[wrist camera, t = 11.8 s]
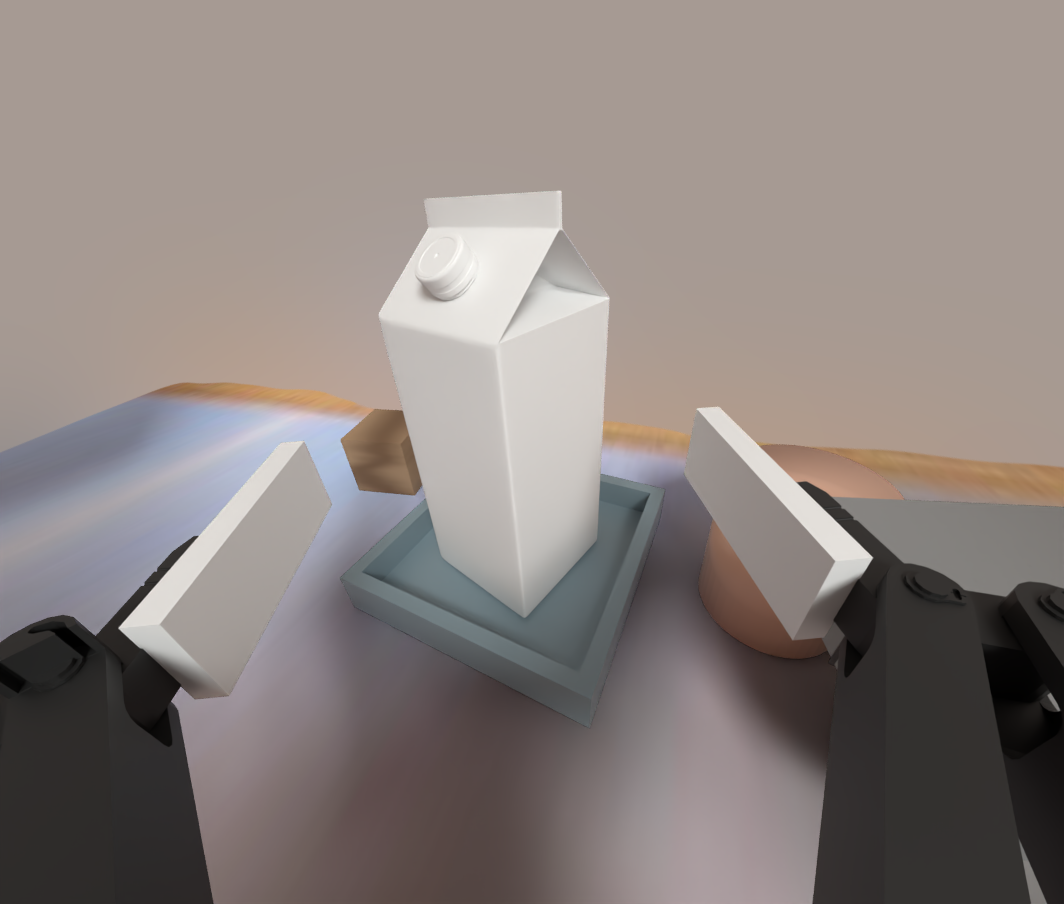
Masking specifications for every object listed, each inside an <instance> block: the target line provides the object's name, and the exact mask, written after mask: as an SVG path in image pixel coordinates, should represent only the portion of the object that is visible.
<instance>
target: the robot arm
mask: <svg viewBox="0 0 1064 904" xmlns="http://www.w3.org/2000/svg"><path fill="white" fill-rule="evenodd" d="M684 475H685V477H686V478H687V480H688V481H689V483H690V484H691V486H692V487H693V489H694V490H695V492H696V493H697V495H698V496H699V498H700V499H701V501H702V503H703V504H704V506H705V507H706V509H707V510H708V512H709V513H710V515H711V516H712V518H713V519H714V521H715V522H716V524H717V525H718V527H719V529H720V530H721V532H722V533H723V535H724V536H725V538H726V539H727V541H728V542H729V544H730V545H731V547H732V548H733V550H734V551H735V553H736V555H737V556H738V558H739V559H740V561H741V562H742V564H743V565H744V567H745V568H746V570H747V571H748V573H749V574H750V576H751V577H752V579H753V581H754V582H755V584H756V585H757V587H758V588H759V590H760V591H761V593H762V594H763V596H764V597H765V599H766V600H767V602H768V603H769V605H770V607H771V608H772V610H773V611H774V613H775V614H776V616H777V617H778V619H779V620H780V622H781V623H782V625H783V626H784V628H785V629H786V631H787V633H788V634H789V636H790V637H791V639H792V640H803V639H813V638H823V637H825V635H826V634H827V632H828V631H829V629H830V627H831V626H832V624H833V622H835V623H836V625H837V626H838V627H839V629H840V630H841V631H842V632H843V634H844V635H845V636H844V637H843V639H842V640H841V642H840V644H839V645H838V647H837V648H836V650H835V651H834V653H833V654H832V656H831V658H830V660H829V662H828V663H829V664H831V665H833V666H834V664H835V663H836V661H837V660H838V667H837V677H836V686H835V696H834V705H833V715H832V724H831V734H830V743H829V753H828V762H827V772H826V781H825V791H824V800H823V810H822V819H821V829H820V838H819V848H818V857H817V867H816V876H815V886H814V895H813V904H1031V900H1030V895H1029V890H1028V885H1027V879H1026V874H1025V869H1024V864H1023V858H1022V853H1021V848H1020V843H1019V840H1020V842H1021V845H1022V847H1023V849H1024V852H1025V854H1026V856H1027V859H1028V861H1029V863H1030V865H1031V868H1032V870H1033V872H1034V875H1035V877H1036V879H1037V882H1038V884H1039V886H1040V889H1041V891H1042V893H1043V895H1044V898H1045V900H1046V902H1047V904H1064V588H1060V587H1057V586H1053V585H1050V584H1047V583H1040V582H1031V581H1028V582H1024V583H1020V584H1018V585H1017V586H1016V587H1015V588H1014V589H1013V590H1012V591H1011V592H1010V593H1009V594H1008V595H1007V596H1006V597H1005V596H999V595H993V594H986V593H980V592H974V591H968V590H964V589H963V588H962V587H961V586H960V585H959V584H958V583H956V582H955V581H953V580H951V579H950V578H948V577H947V576H945V575H944V574H942V573H939V572H937V571H935V570H932V569H930V568H928V567H924V566H920V565H916V564H912V563H903V562H902V561H901V560H900V559H899V558H898V557H897V556H896V555H894V554H893V553H892V552H891V551H890V550H889V549H888V548H887V547H886V546H885V545H884V544H882V543H881V542H880V541H879V540H878V539H877V538H876V537H875V536H874V535H873V534H872V533H870V532H869V531H868V530H867V529H866V528H865V527H864V526H863V525H862V524H861V523H860V522H858V521H857V520H854V517H853V516H852V515H851V514H850V513H849V512H848V511H846V510H845V509H842V508H841V505H840V504H839V503H838V502H837V501H836V500H834V499H833V498H832V497H831V496H830V495H829V494H828V493H827V492H825V491H823V490H822V489H820V488H818V487H816V486H814V485H813V484H811V483H809V482H807V481H803V482H795V481H794V480H793V479H792V478H791V477H790V476H789V475H788V474H787V473H786V472H785V471H784V470H783V469H782V468H781V467H780V466H779V465H778V464H777V463H776V462H775V461H774V460H773V459H772V458H771V457H770V456H769V455H768V454H767V453H766V452H765V451H764V450H763V449H761V448H760V447H759V446H758V445H757V444H756V443H755V442H754V441H753V440H752V439H751V438H750V437H749V436H748V435H747V434H746V433H745V432H744V431H743V430H742V429H741V428H740V427H739V426H738V425H737V424H736V423H735V422H734V421H733V420H732V419H731V418H730V417H729V416H728V415H727V414H726V413H725V412H724V411H723V410H722V409H720V407H709V408H697V409H696V414H695V419H694V425H693V429H692V434H691V439H690V444H689V450H688V455H687V460H686V465H685V470H684ZM331 506H332V503H331V501H330V498H329V496H328V494H327V492H326V489H325V487H324V485H323V483H322V480H321V478H320V476H319V473H318V471H317V469H316V467H315V464H314V462H313V460H312V458H311V455H310V453H309V451H308V448H307V446H306V444H305V442H304V441H297V442H285V443H280V444H279V445H278V446H277V448H276V449H275V450H274V451H273V452H272V453H271V454H270V456H269V457H268V458H267V459H266V460H265V461H264V462H263V464H262V465H261V466H260V467H259V468H258V469H257V470H256V472H255V473H254V474H253V475H252V476H251V477H250V478H249V480H248V481H247V482H246V483H245V484H244V485H243V486H242V488H241V489H240V490H239V491H238V492H237V493H236V494H235V496H234V497H233V498H232V499H231V500H230V501H229V502H228V504H227V505H226V506H225V507H224V508H223V509H222V510H221V512H220V513H219V514H218V515H217V516H216V517H215V518H214V520H213V521H212V522H211V523H210V524H209V525H208V526H207V528H206V529H205V530H204V531H203V532H202V533H201V534H200V536H194V537H192V538H191V539H189V540H188V541H187V542H185V543H184V544H182V545H181V546H180V547H178V548H177V549H176V550H174V551H173V552H172V553H171V554H170V555H169V556H168V557H167V558H166V559H165V561H164V562H163V563H162V564H161V565H160V566H159V567H158V568H157V569H158V570H157V572H154V573H153V574H152V575H151V576H150V577H149V578H148V579H147V580H146V581H145V582H144V583H145V585H144V586H141V587H140V588H139V589H138V590H137V591H136V592H135V593H134V595H133V596H132V597H131V598H130V599H129V600H128V601H127V602H126V603H125V604H124V605H123V607H122V608H121V609H120V610H119V611H118V612H117V613H116V614H115V615H114V616H113V618H112V619H111V620H110V621H109V622H108V623H107V624H106V625H105V626H104V627H103V629H102V630H101V631H100V632H99V633H98V634H97V635H96V636H95V635H93V634H92V633H91V632H90V631H89V630H88V629H86V628H85V627H84V626H83V625H82V624H81V623H80V622H78V621H77V620H76V619H75V618H74V617H70V616H65V615H61V616H55V617H50V618H46V619H44V620H41V621H38V622H36V623H33V624H31V625H29V626H27V627H25V628H23V629H21V630H19V631H18V632H16V633H14V634H12V635H10V636H9V637H7V638H6V639H5V640H3V641H2V642H1V643H0V904H213V899H212V893H211V888H210V882H209V877H208V872H207V866H206V861H205V855H204V850H203V844H202V839H201V833H200V828H199V822H198V817H197V811H196V806H195V800H194V795H193V789H192V784H191V779H190V773H189V768H188V762H187V757H186V751H185V746H184V740H183V735H182V729H181V724H180V718H179V713H178V710H177V708H176V707H175V705H174V704H173V703H172V702H171V700H172V699H173V697H174V696H175V694H176V693H177V691H178V689H179V688H180V686H181V687H182V688H183V689H184V690H185V691H186V692H188V693H189V694H190V695H191V696H192V697H193V698H194V699H204V698H214V697H224V696H229V695H230V693H231V692H232V690H233V688H234V686H235V684H236V682H237V680H238V679H239V677H240V675H241V673H242V671H243V669H244V667H245V666H246V664H247V662H248V660H249V658H250V656H251V654H252V653H253V651H254V649H255V647H256V645H257V643H258V641H259V640H260V638H261V636H262V634H263V632H264V630H265V628H266V627H267V625H268V623H269V621H270V619H271V617H272V615H273V614H274V612H275V610H276V608H277V606H278V604H279V602H280V601H281V599H282V597H283V595H284V593H285V591H286V589H287V587H288V586H289V584H290V582H291V580H292V578H293V576H294V574H295V573H296V571H297V569H298V567H299V565H300V563H301V561H302V560H303V558H304V556H305V554H306V552H307V550H308V548H309V547H310V545H311V543H312V541H313V539H314V537H315V535H316V534H317V532H318V530H319V528H320V526H321V524H322V522H323V521H324V519H325V517H326V515H327V513H328V511H329V509H330V508H331ZM1050 693H1051V694H1052V696H1053V698H1054V699H1055V701H1056V702H1057V704H1058V707H1059V709H1060V711H1058V710H1057V709H1056V708H1055V706H1054V705H1053V704H1052V702H1051V700H1050V699H1049V697H1048V694H1050Z"/></svg>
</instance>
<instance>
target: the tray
mask: <svg viewBox="0 0 1064 904" xmlns="http://www.w3.org/2000/svg"><path fill="white" fill-rule="evenodd" d="M664 493H665V489H662V488H658V487H654V486H650V485H646V484H641V483H637V482H633V481H629V480H625V479H621V478H617V477H612V476H608V475H604V474H600V492H599V512H598V531H597V540H596V542H595V543H594V544H593V545H592V546H591V547H590V548H589V549H588V550H587V552H586V553H585V554H584V555H583V556H582V557H581V558H580V559H579V560H578V561H577V562H576V564H575V565H574V566H573V567H572V568H571V569H570V570H569V571H568V572H567V573H566V574H565V576H564V577H563V578H562V579H561V580H560V581H559V582H558V583H557V584H556V585H555V587H554V588H553V589H552V590H551V591H550V592H549V593H548V594H547V595H546V596H545V597H544V599H543V600H542V601H541V602H540V603H539V604H538V605H537V606H536V607H535V608H534V609H533V611H532V612H531V613H530V614H529V615H528V616H527V617H526V618H524V617H522V616H520V615H519V614H517V613H516V612H514V611H513V610H512V609H510V608H509V607H508V606H506V605H505V604H504V603H502V602H501V601H500V600H498V599H497V598H495V597H494V596H493V595H491V594H490V593H489V592H487V591H486V590H485V589H483V588H482V587H481V586H479V585H478V584H477V583H475V582H474V581H472V580H471V579H470V578H468V577H467V576H466V575H464V574H463V573H462V572H460V571H459V570H458V569H456V568H455V567H454V566H452V565H451V564H449V563H448V562H447V561H446V560H444V559H443V558H442V556H441V554H440V550H439V546H438V542H437V539H436V535H435V531H434V527H433V523H432V520H431V516H430V512H429V508H428V504H427V501H426V499H425V500H423V501H422V502H421V503H420V504H419V505H418V506H417V507H416V508H415V509H414V510H413V511H412V512H410V513H409V514H408V515H407V516H406V517H405V518H404V519H403V520H402V521H401V522H400V523H399V524H398V525H396V526H395V527H394V528H393V529H392V530H391V531H390V532H389V533H388V534H387V535H386V536H385V537H384V538H382V539H381V540H380V541H379V542H378V543H377V544H376V545H375V546H374V547H373V548H372V549H371V550H369V551H368V552H367V553H366V554H365V555H364V556H363V557H362V558H361V559H360V560H359V561H358V562H357V563H355V564H354V565H353V566H352V567H351V568H350V569H349V570H348V571H347V572H346V573H345V574H344V575H342V576H341V577H340V579H341V581H342V583H343V585H344V587H345V589H346V591H347V593H348V595H349V597H350V599H351V601H352V603H353V605H354V607H356V608H358V609H360V610H362V611H364V612H365V613H367V614H369V615H371V616H373V617H375V618H377V619H379V620H381V621H383V622H385V623H387V624H389V625H391V626H393V627H394V628H396V629H398V630H400V631H402V632H404V633H406V634H408V635H410V636H412V637H414V638H416V639H418V640H420V641H421V642H423V643H425V644H427V645H429V646H431V647H433V648H435V649H437V650H439V651H441V652H443V653H445V654H447V655H449V656H450V657H452V658H454V659H456V660H458V661H460V662H462V663H464V664H466V665H468V666H470V667H472V668H474V669H476V670H478V671H479V672H481V673H483V674H485V675H487V676H489V677H491V678H493V679H495V680H497V681H499V682H501V683H503V684H505V685H507V686H508V687H510V688H512V689H514V690H516V691H518V692H520V693H522V694H524V695H526V696H528V697H530V698H532V699H534V700H536V701H537V702H539V703H541V704H543V705H545V706H547V707H549V708H551V709H553V710H555V711H557V712H559V713H561V714H563V715H565V716H566V717H568V718H570V719H572V720H574V721H576V722H578V723H580V724H582V725H584V726H586V727H588V728H590V725H591V722H592V719H593V717H594V714H595V711H596V708H597V705H598V702H599V699H600V696H601V693H602V690H603V687H604V684H605V681H606V678H607V675H608V672H609V669H610V666H611V663H612V660H613V657H614V654H615V651H616V648H617V645H618V642H619V639H620V636H621V633H622V630H623V627H624V624H625V621H626V618H627V616H628V613H629V610H630V607H631V604H632V601H633V598H634V595H635V592H636V589H637V586H638V583H639V580H640V577H641V574H642V571H643V568H644V565H645V562H646V559H647V556H648V553H649V550H650V547H651V544H652V541H653V538H654V535H655V532H656V529H657V526H658V523H659V520H660V517H661V511H662V505H663V499H664Z"/></svg>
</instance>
